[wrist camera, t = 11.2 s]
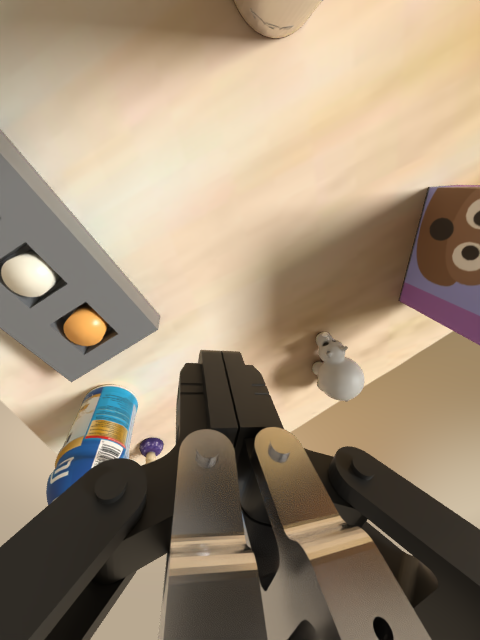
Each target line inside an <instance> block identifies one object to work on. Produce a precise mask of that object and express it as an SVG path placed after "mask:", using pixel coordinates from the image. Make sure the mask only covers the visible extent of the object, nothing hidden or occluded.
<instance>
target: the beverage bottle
mask: <svg viewBox="0 0 480 640" xmlns="http://www.w3.org/2000/svg"><path fill="white" fill-rule="evenodd" d="M137 408H138V401H137V398H136V396H135V395H134V394H133V393H132V392H131V391H130V390H129V389H127V388H125V387H122V386H118V385H103V386H99V387H97V388H95V389H93V390H91V391H90V392H89V393H88V394H87V395H86V396H85V398H84V400H83V403H82V406H81V408H80V410H79V412H78V415H77V417H76V419H75V421H74V424H73V426H72V428H71V430H70V432H69V435H68V437H67V439H66V441H65V443H64V446H63V447H62V449H61V450H60V452H59V454H58V456H57V459H56V462H55V470H54V471H53V472H52V473H51V475H50V477H49V479H48V483H47V502H48V505H49V504H51V503H52V502H53V501H54V500H55V499H56V498H58V497H59V496H60V495H61V494H62V493H63V492H64V491H66V490H67V489H68V488H69V487H70V486H71V485H72V484H74V483H75V482H76V481H77V480H78V479H79V478H81V477H82V476H83V475H84V474H85V473H86V472H87V471H89V470H90V469H91V468H93V467H94V466H96V465H98V464H99V463H101V462H104V461H106V460H110V459H115V458H125V459H129V448H130V442H131V436H132V431H133V426H134V420H135V416H136V412H137Z"/></svg>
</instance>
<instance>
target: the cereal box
mask: <svg viewBox="0 0 480 640" xmlns="http://www.w3.org/2000/svg"><path fill="white" fill-rule="evenodd" d="M399 301H400V302H402V303H404V304H406V305H408V306H409V307H411V308H413V309H415V310H417V311H418V312H420V313H422V314H424V315H426V316H428V317H429V318H431V319H433V320H435V321H437V322H438V323H440V324H442V325H444V326H446V327H448V328H449V329H451V330H453V331H455V332H457V333H458V334H460V335H462V336H464V337H466V338H468V339H470V340H471V341H473V342H475V343H477V344H479V345H480V185H451V186H438V187H428V191H427V195H426V198H425V202H424V206H423V210H422V214H421V217H420V221H419V225H418V229H417V233H416V236H415V240H414V244H413V248H412V252H411V255H410V259H409V263H408V267H407V271H406V274H405V278H404V282H403V286H402V290H401V293H400V297H399Z"/></svg>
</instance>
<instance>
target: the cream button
mask: <svg viewBox="0 0 480 640" xmlns="http://www.w3.org/2000/svg"><path fill="white" fill-rule="evenodd" d="M1 275H2V279H3V281H4V283H5V284H6V285H7V286H8V287H9V288H10V289H11V290H12V291H14V292H15V293H17V294H19V295H22V296H26V297H38V296H41V295H43V294H44V293H46V292H47V291H48V290H49V289H51V288H52V287H53V286H54V285H55V284H57V283H58V282H59V280H60V279H61V277H60V276H59V275H58V274H57V273H56V272H55V271H54V270H53V269H52V268H51V267H50V266H49V265H48V264H47V263H46V262H45V261H44V260H43V259H42V258H41V257H40V256H39V255H38V254H37V253H36V252H35V251H34V250H32V251H27V252H25V253H23V254H20V255H18V256H16V257H14V258H12V259H10V260H8V261H6V262H5V263H4V264H3V266H2V269H1Z"/></svg>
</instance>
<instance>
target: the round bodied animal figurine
mask: <svg viewBox="0 0 480 640" xmlns="http://www.w3.org/2000/svg"><path fill="white" fill-rule="evenodd" d="M316 343H317V345H318V348H319V350H318V354H319V357H320V358H321V360H323V361H324V363H323V362H315V363H314V364H313V367H312V371H313V373H314V374H315V375H317V376H318V382H317V386H318V388H319V389H320V390H322V391H324V392H325V394H327V395H328V396H329V397H331V398H333V399H336V400H342V401H349V400H350V399H352V398H354V397H356V396H357V395H358V394H359V393H360V392H361V390H362V388H363V386H364V374H363V371H362V369H361V368H360V366H359V365H358V364H357V363H356V362H355V361H353V360H352V359H350V358H347V357H344V356H345V350H347V348H348V347H347V346H343V344H342V343H341V342H339V341H336V340H334V339H333V338H332V336H331V335H330V334H329V333H328V332H321V333H319V334H318V335H317V337H316Z"/></svg>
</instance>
